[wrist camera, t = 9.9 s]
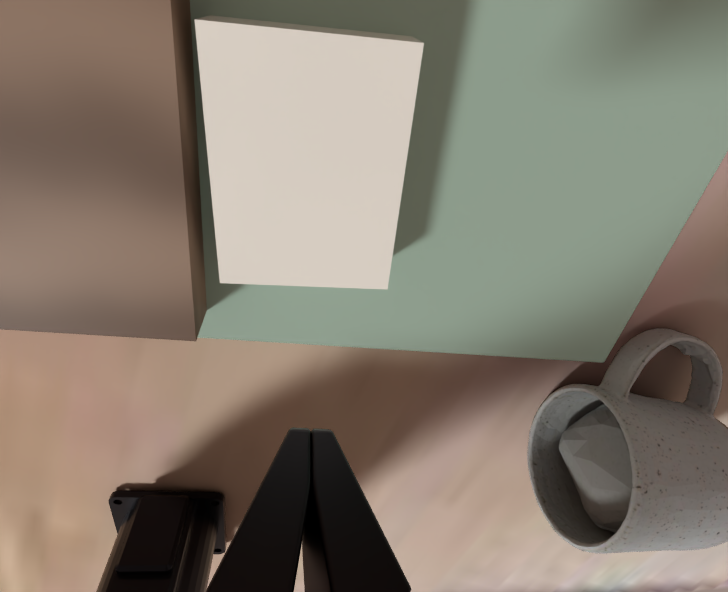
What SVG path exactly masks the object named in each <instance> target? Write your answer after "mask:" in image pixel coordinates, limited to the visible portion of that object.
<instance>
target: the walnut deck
mask: <svg viewBox="0 0 728 592" xmlns="http://www.w3.org/2000/svg"><path fill="white" fill-rule="evenodd" d="M206 312H207V304H206V286H205V267H204V249H203V231H202V213H201V195H200V177H199V158H198V140H197V122H196V104H195V86H194V68H193V50H192V31H191V13H190V0H0V329H5V330H21V331H38V332H54V333H70V334H87V335H103V336H120V337H136V338H152V339H169V340H185V341H196V340H197V337H198V334H199V331H200V328H201V326H202V323H203V320H204V317H205V314H206Z"/></svg>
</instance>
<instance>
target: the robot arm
mask: <svg viewBox="0 0 728 592" xmlns="http://www.w3.org/2000/svg"><path fill="white" fill-rule="evenodd" d="M109 505H110V508H111V512H112V515H113V519H114V523H115V526H116V530H117V533H118V535H117V538H116V540H115V543H114V546H113V549H112V551H111V554H110V557H109V559H108V562H107V565H106V567H105V570H104V573H103V575H102V578H101V581H100V583H99V586H98V589H97V591H96V592H293V591H294V585H295V579H296V574H297V568H298V562H299V556H300V550H301V544H302V550H303V569H304V585H305V592H410V591H411V587H410V585H409V583H408V581H407V579H406V577H405V575H404V573H403V571H402V569H401V567H400V565H399V563H398V561H397V559H396V557H395V555H394V553H393V551H392V549H391V547H390V545H389V543H388V541H387V539H386V537H385V535H384V533H383V531H382V529H381V527H380V525H379V523H378V521H377V519H376V517H375V515H374V513H373V511H372V509H371V507H370V505H369V503H368V501H367V499H366V497H365V495H364V493H363V491H362V489H361V487H360V485H359V483H358V481H357V479H356V477H355V475H354V473H353V471H352V469H351V467H350V465H349V463H348V461H347V459H346V457H345V455H344V453H343V451H342V449H341V447H340V445H339V443H338V441H337V439H336V437H335V435H334V433H333V432H332V431H331V430H329V429H313V430H312V431H310V430H309V429H308V428H291V429H290V430H289V431H288V433H287V435H286V437H285V439H284V441H283V442H282V444H281V446H280V448H279V450H278V452H277V454H276V456H275V458H274V460H273V462H272V464H271V466H270V468H269V470H268V472H267V473H266V475H265V477H264V479H263V481H262V483H261V485H260V487H259V489H258V491H257V493H256V495H255V497H254V499H253V501H252V503H251V504H250V506H249V508H248V510H247V512H246V514H245V516H244V518H243V520H242V522H241V524H240V526H239V528H238V530H237V532H236V534H235V535H234V537H233V539H232V541H231V543H230V545H229V547H228V549H227V551H226V553H225V555H224V557H223V559H222V561H221V563H220V565H219V566H218V568H217V570H216V572H215V574H214V576H213V578H212V580H211V582H210V584H209V586H208V588H207V584H208V579H209V574H210V569H211V564H212V558H213V554H222V553H224V552H225V550H226V522H225V497H224V495H223V494H221V493H217V492H159V491H115V492H113V493H112V494H111V496H110V499H109Z"/></svg>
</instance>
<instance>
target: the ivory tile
mask: <svg viewBox="0 0 728 592" xmlns="http://www.w3.org/2000/svg"><path fill="white" fill-rule="evenodd" d="M194 20H195V30H196V41H197V51H198V61H199V72H200V82H201V93H202V103H203V113H204V124H205V134H206V144H207V155H208V165H209V176H210V186H211V196H212V207H213V217H214V227H215V238H216V248H217V259H218V269H219V279H220V283H228V284H255V285H281V286H308V287H334V288H360V289H387V290H388V283H389V276H390V270H391V263H392V256H393V249H394V243H395V236H396V229H397V222H398V215H399V209H400V202H401V195H402V188H403V182H404V175H405V168H406V161H407V155H408V148H409V141H410V134H411V128H412V121H413V114H414V107H415V101H416V94H417V87H418V80H419V74H420V67H421V60H422V53H423V47H424V43H423V42H421V41H420V40H418V39H416V38H414V37H412V36H405V35H395V34H386V33H376V32H367V31H357V30H347V29H338V28H328V27H319V26H309V25H299V24H290V23H280V22H271V21H261V20H251V19H242V18H232V17H223V16H213V15H209V16H205V17H201V18H198V19H194Z"/></svg>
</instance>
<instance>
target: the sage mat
mask: <svg viewBox="0 0 728 592" xmlns="http://www.w3.org/2000/svg"><path fill="white" fill-rule="evenodd" d="M190 13H191V31H192V50H193V68H194V86H195V104H196V122H197V140H198V158H199V177H200V195H201V213H202V231H203V249H204V267H205V286H206V304H207V312H206V314H205V317H204V320H203V323H202V326H201V328H200V331H199V334H198V337H199V338H215V339H231V340H247V341H263V342H279V343H295V344H311V345H327V346H343V347H359V348H375V349H392V350H408V351H424V352H440V353H456V354H472V355H488V356H504V357H520V358H536V359H552V360H568V361H585V362H601V363H604V362H605V360H606V358H607V357H608V355H609V353H610V351H611V350H612V348H613V346H614V345H615V343H616V341H617V339H618V338H619V336H620V334H621V333H622V331H623V329H624V327H625V326H626V324H627V322H628V321H629V319H630V317H631V315H632V314H633V312H634V310H635V309H636V307H637V305H638V303H639V302H640V300H641V298H642V297H643V295H644V293H645V291H646V290H647V288H648V286H649V285H650V283H651V281H652V279H653V278H654V276H655V274H656V273H657V271H658V269H659V268H660V266H661V264H662V262H663V261H664V259H665V257H666V256H667V254H668V252H669V250H670V249H671V247H672V245H673V244H674V242H675V240H676V238H677V237H678V235H679V233H680V232H681V230H682V228H683V226H684V225H685V223H686V221H687V220H688V218H689V216H690V214H691V213H692V211H693V209H694V208H695V206H696V204H697V202H698V201H699V199H700V197H701V196H702V194H703V192H704V191H705V189H706V187H707V185H708V184H709V182H710V180H711V179H712V177H713V175H714V173H715V172H716V170H717V168H718V167H719V165H720V163H721V161H722V160H723V158H724V156H725V155H726V153H727V151H728V0H190ZM209 15H213V16H223V17H232V18H242V19H251V20H261V21H271V22H280V23H290V24H299V25H309V26H319V27H328V28H338V29H347V30H357V31H367V32H376V33H386V34H395V35H405V36H412V37H414V38H416V39H418V40H420V41H421V42H423V43H424V47H423V53H422V60H421V67H420V74H419V80H418V87H417V94H416V101H415V107H414V114H413V121H412V128H411V134H410V141H409V148H408V155H407V161H406V168H405V175H404V182H403V188H402V195H401V202H400V209H399V215H398V222H397V229H396V236H395V243H394V249H393V256H392V263H391V270H390V276H389V283H388V290H387V289H360V288H334V287H308V286H281V285H255V284H228V283H220V279H219V269H218V259H217V248H216V238H215V227H214V217H213V207H212V196H211V186H210V176H209V165H208V155H207V144H206V134H205V124H204V113H203V103H202V93H201V82H200V72H199V61H198V51H197V41H196V30H195V20H194V19H198V18H201V17H205V16H209Z"/></svg>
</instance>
